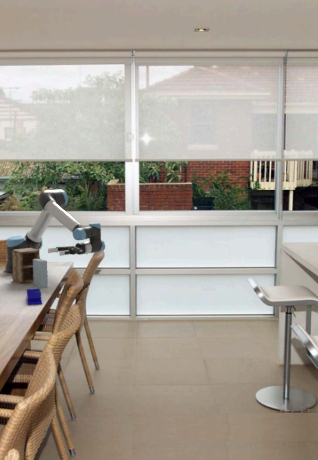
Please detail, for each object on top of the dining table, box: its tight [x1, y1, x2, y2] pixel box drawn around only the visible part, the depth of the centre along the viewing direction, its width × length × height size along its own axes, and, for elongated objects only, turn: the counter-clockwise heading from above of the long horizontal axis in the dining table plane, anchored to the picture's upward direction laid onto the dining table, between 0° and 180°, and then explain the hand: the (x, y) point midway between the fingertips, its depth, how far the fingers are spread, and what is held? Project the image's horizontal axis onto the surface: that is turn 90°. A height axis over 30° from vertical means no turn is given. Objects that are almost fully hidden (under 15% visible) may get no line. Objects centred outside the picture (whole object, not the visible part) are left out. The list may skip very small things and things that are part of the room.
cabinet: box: [11, 248, 41, 285], centre depth 377 cm, size 12×14×20 cm
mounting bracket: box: [26, 288, 43, 306], centre depth 329 cm, size 18×7×6 cm, turn 15°
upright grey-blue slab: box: [33, 258, 49, 288], centre depth 364 cm, size 10×5×16 cm, turn 40°
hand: (53, 252), depth 369 cm, fingers open, 13 cm apart
